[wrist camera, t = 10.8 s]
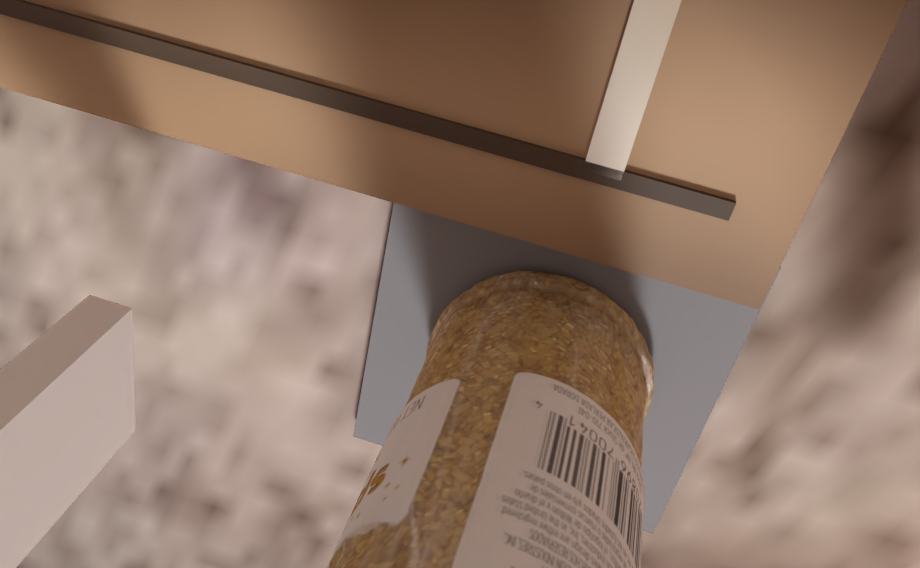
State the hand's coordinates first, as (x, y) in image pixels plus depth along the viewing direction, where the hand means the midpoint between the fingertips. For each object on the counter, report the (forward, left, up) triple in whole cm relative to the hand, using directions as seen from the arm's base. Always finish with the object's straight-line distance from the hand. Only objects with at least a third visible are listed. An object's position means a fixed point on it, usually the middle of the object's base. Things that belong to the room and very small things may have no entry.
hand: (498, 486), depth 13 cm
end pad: (0, 0, -4) cm, 4 cm away
